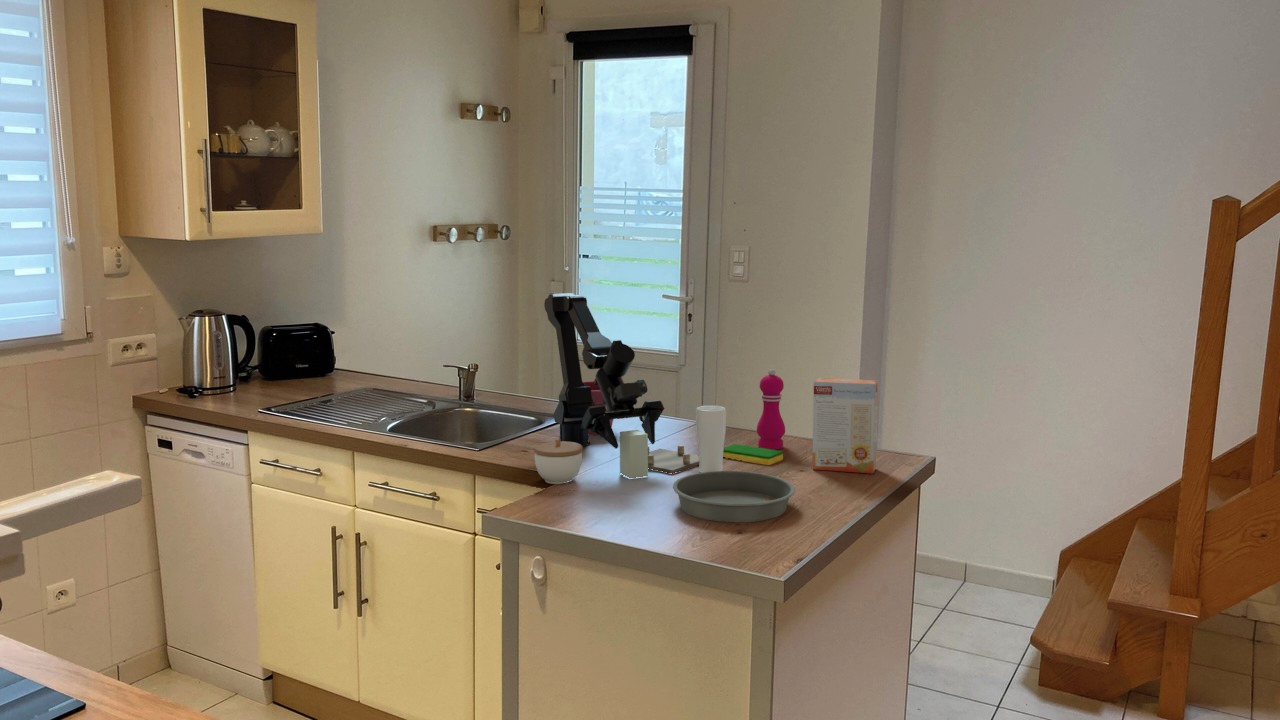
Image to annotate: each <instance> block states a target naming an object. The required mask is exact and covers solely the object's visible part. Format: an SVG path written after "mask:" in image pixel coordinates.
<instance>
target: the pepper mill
mask: <svg viewBox="0 0 1280 720" xmlns="http://www.w3.org/2000/svg"><path fill="white" fill-rule="evenodd" d="M767 373H768V374H767V375H764V376H763V377H762V378H761V379H760V382H759V389H760V391H761V392H762V393H761V394H760V395H761V401H762V405H763V408H762V411H761V412H762V413H761V415H760V418H759V420H758V422H757V426H756V429H755V430H756V434H757V435H758V437H760V438H758V440H757V441H758V443H757V447H758V448H759V447H760V448H764V449H771V450H780V449H783V447H784V440H783V439H782V438H783V436H785V434H786V426H785V422H784V420H783V418H782V415H781V412H780V402H781V400H782V394H781V392H783V390H784V386H785V384H784V381H783V379H782V378H781V377H780V376H779V375H776V370H775V369H774V368H771V369H768V372H767Z"/></svg>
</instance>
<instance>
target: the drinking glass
mask: <svg viewBox="0 0 1280 720" xmlns="http://www.w3.org/2000/svg"><path fill="white" fill-rule="evenodd" d="M726 409H727V408H726V407H724V406H720V405H715V404H714V405H711V404H710V405H707V404H706V405H700V406H697V407H696V412H695V413H696V414H695V415H696V417H695V427H696V438H697V439H696V440H697V453H698V455H699V466H698V470H699V473H703V472H712V471H723V470H724V469H723V465H724V464H723V463H724V462H723V461H724V458H723V452H724V448H725V441H726V429H727V410H726Z"/></svg>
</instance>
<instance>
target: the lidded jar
mask: <svg viewBox="0 0 1280 720" xmlns="http://www.w3.org/2000/svg"><path fill="white" fill-rule="evenodd" d="M583 448H584V447H582V445H580V444H578V443H574V442H566V441H560V438H556V439H555V441H547V442H542V443H541V442H540V443H538V444H536V445H534V447H533V453H534V463H535V468H536V470H537V473H538V475H539V476H540V477H541V478H542V479H543V480H544V482H545V483H547V484H550V485H562V484H561V483H564V482H567V481H570V480H572V479H574V478H576V477H577V475H578V474H579V472H580V470H581V468H582V463H583ZM572 481H573V480H572Z"/></svg>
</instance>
